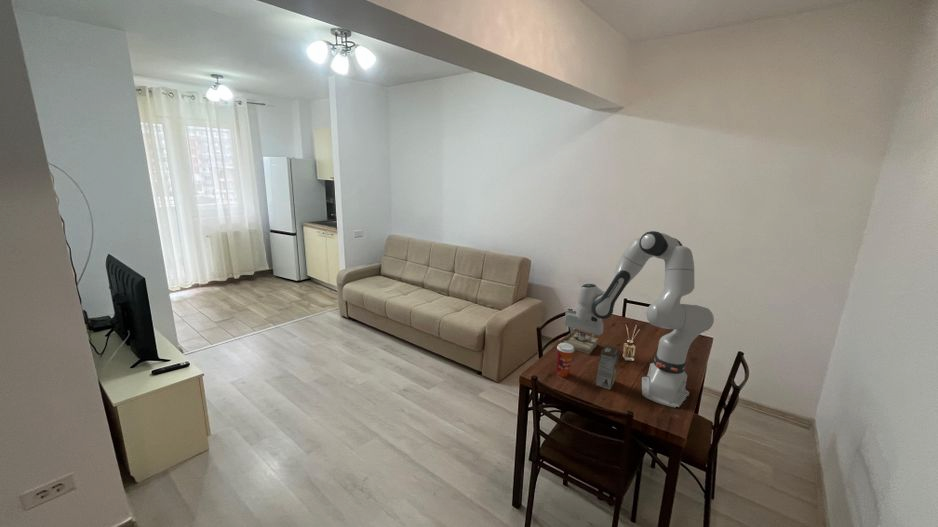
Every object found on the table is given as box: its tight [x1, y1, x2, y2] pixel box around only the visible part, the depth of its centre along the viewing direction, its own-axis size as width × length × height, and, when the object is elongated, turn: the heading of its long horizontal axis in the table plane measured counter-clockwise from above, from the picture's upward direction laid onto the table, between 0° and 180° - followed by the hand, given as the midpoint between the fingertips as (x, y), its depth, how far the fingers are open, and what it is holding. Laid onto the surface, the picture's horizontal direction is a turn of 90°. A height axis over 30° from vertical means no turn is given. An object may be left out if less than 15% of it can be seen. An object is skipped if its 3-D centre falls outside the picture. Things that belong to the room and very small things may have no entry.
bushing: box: [577, 331, 587, 342], centre depth 199 cm, size 4×4×7 cm
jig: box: [563, 329, 599, 355], centre depth 199 cm, size 14×14×5 cm
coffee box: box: [595, 344, 621, 390], centre depth 163 cm, size 9×6×16 cm
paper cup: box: [555, 342, 575, 378], centre depth 169 cm, size 8×8×14 cm
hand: (581, 337), depth 198 cm, fingers open, 8 cm apart
